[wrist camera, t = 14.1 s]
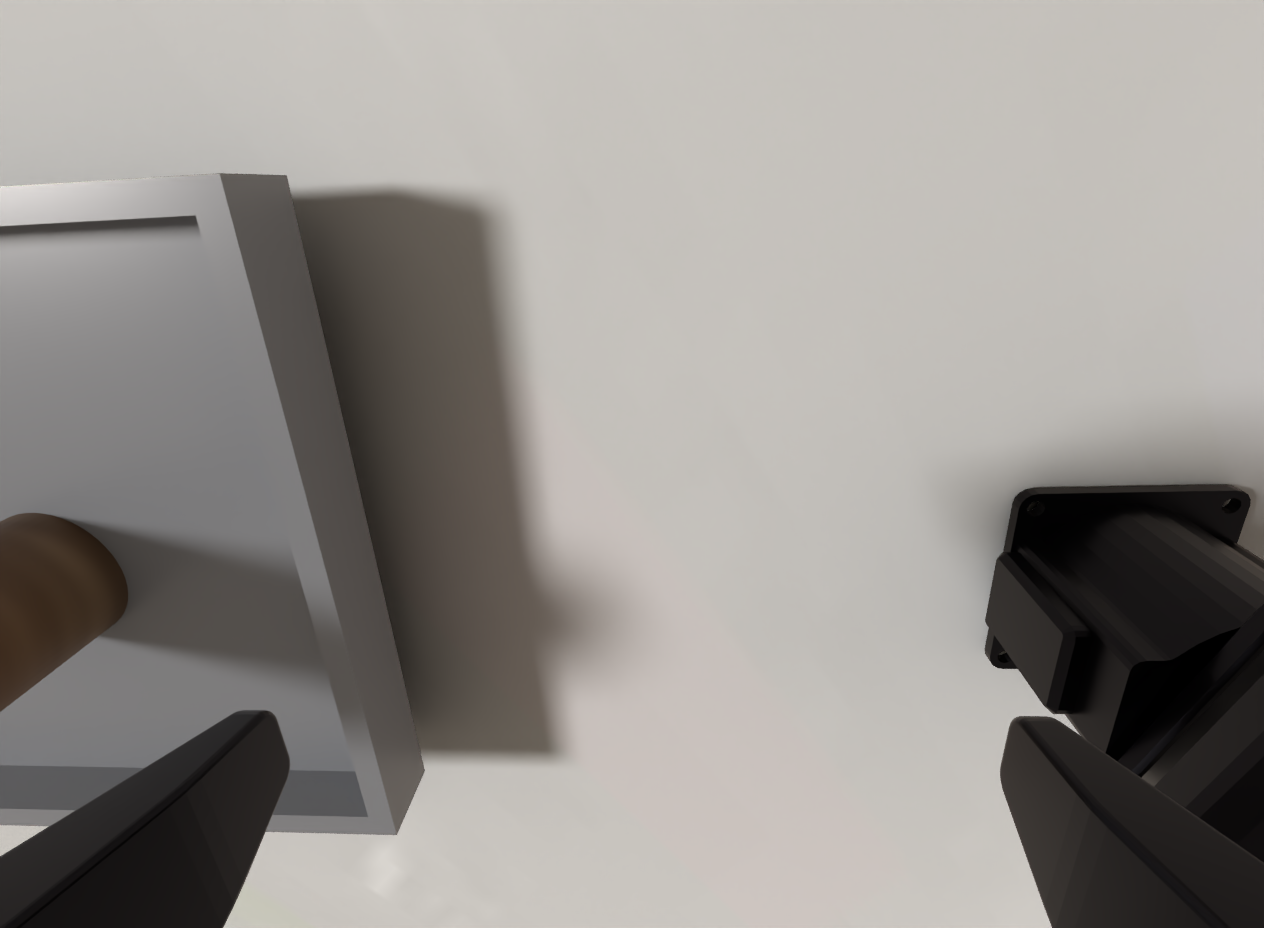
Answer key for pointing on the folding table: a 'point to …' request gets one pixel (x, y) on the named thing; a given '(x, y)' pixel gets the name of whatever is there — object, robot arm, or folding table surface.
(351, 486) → the parts tray
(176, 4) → the folding table surface
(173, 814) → the robot arm
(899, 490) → the folding table surface
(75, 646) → the walnut part
